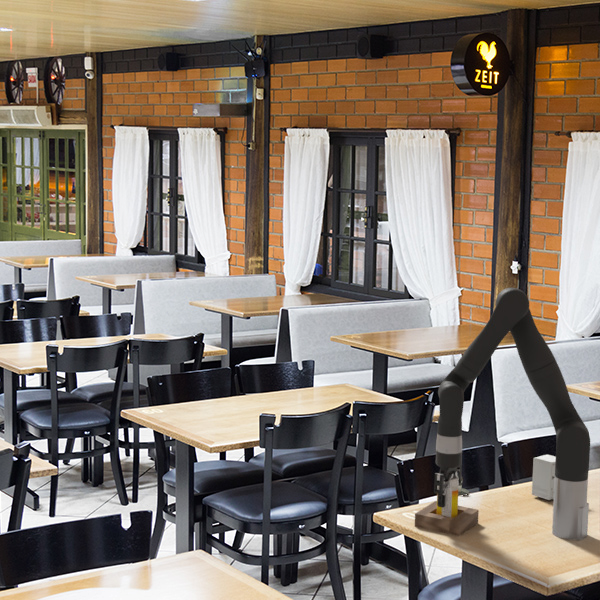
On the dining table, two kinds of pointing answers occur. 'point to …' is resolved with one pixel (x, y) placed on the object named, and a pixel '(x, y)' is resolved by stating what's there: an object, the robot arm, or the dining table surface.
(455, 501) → the beer can
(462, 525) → the box holder
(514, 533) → the dining table surface
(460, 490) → the pot lid
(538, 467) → the supplement box
